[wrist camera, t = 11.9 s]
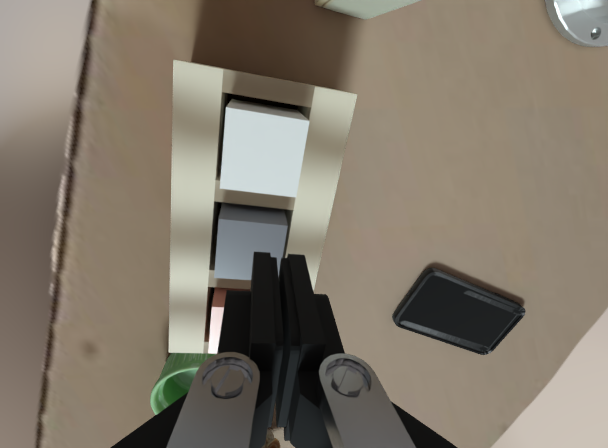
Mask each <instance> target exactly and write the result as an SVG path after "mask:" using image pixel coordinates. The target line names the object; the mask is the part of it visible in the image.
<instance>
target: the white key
mask: <svg viewBox="0 0 608 448" xmlns="http://www.w3.org/2000/svg"><path fill="white" fill-rule="evenodd" d="M309 122H310V121H309V120H308V119H307V118H306V117H304V116H303V115H302V114H301V113H300V112H299V111H298V110H293V109H288V108H282V107H276V106H270V105H264V104H259V103H253V102H247V101H241V100H235V99H231V101H230V102H229V104H228V105H227V106H226V114H225V127H224V140H223V153H222V166H221V179H220V189H228V190H237V191H245V192H254V193H262V194H271V195H279V196H288V197H296V196H297V190H298V185H299V179H300V173H301V167H302V162H303V156H304V150H305V145H306V139H307V133H308V127H309Z"/></svg>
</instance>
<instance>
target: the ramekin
mask: <svg viewBox="0 0 608 448" xmlns="http://www.w3.org/2000/svg"><path fill="white" fill-rule="evenodd" d="M214 355H216V354H208V353H171V354H170V356H169V357H168V359H167V361H166V363H165V366H164V368H163V370H162V373H161V375H160V378H159V380H158V381H157V382H156V384H155V386H154V388H153V390H152V392H151V397H150V402H151V407H152V409H153V411H154V413H155V414H156V415H157V414H158V413H160V412H161V411H162V410H164V409H165V408H167V407H168V406H169V405H171V404H172V403H173V402H175V401H176V400H178V399H179V398H180V397H182V396H183V395H185V394H186V393H187V392H189V389H190V387H191V384H192V382H193V379H194V376H195V374H196V372H197V370H198V368H199V367H200V365H201V364H202V363H203V362H204V361H206V360H207V359H208V358H210V357H212V356H214Z"/></svg>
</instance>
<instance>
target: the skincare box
mask: <svg viewBox="0 0 608 448" xmlns="http://www.w3.org/2000/svg"><path fill="white" fill-rule="evenodd" d="M417 1H420V0H315V5H317V6H320V7H323V8H327V9H330V10H333V11H336V12H340V13H343V14H347V15H350V16H354V17H358V18H362V19H369V18H372V17H375V16H378V15H381V14H384V13H387V12H389V11H392V10H395V9H398V8H401V7H403V6H406V5H409V4H412V3H415V2H417Z"/></svg>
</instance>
